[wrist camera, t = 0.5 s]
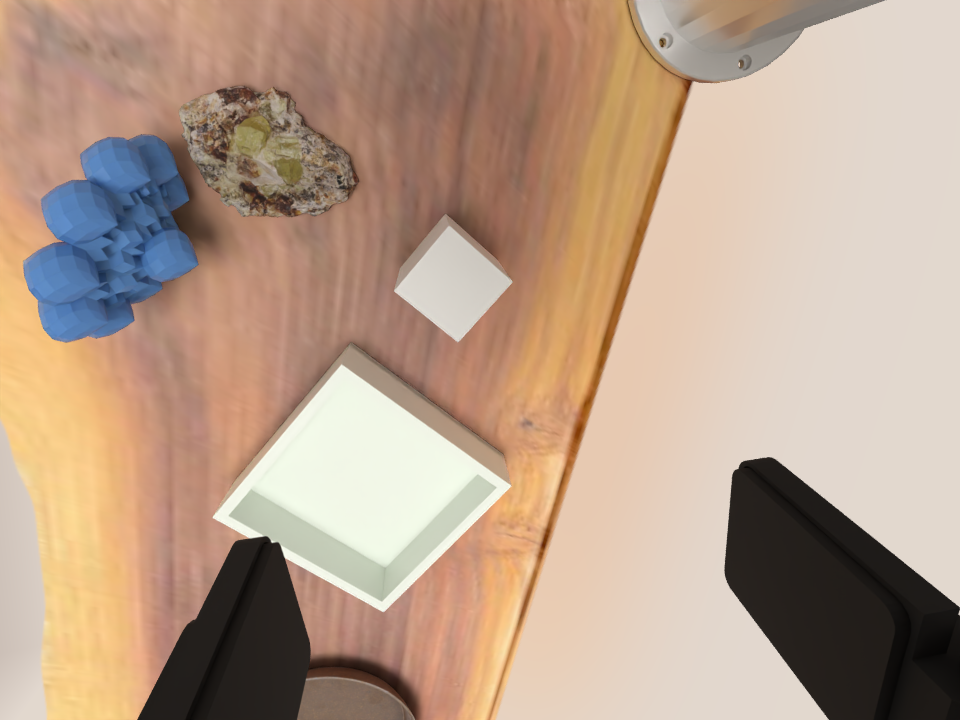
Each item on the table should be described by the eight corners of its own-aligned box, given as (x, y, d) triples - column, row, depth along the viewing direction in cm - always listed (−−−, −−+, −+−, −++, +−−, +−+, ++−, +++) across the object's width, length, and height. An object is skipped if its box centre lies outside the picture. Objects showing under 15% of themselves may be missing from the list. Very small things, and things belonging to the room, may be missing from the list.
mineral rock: (163, 202, 32) (166, 63, 27) (193, 180, 35) (199, 53, 31) (337, 257, 34) (365, 138, 30) (348, 231, 38) (375, 121, 33)
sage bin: (350, 342, 38) (341, 364, 34) (503, 454, 43) (511, 486, 39) (233, 481, 42) (212, 517, 37) (387, 571, 46) (383, 612, 42)
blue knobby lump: (217, 325, 37) (126, 397, 26) (115, 294, 35) (-28, 356, 24) (253, 164, 33) (165, 166, 22) (142, 122, 32) (-12, 102, 21)
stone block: (445, 213, 36) (449, 225, 29) (498, 260, 37) (512, 281, 31) (400, 267, 37) (393, 291, 30) (453, 311, 38) (458, 342, 32)
